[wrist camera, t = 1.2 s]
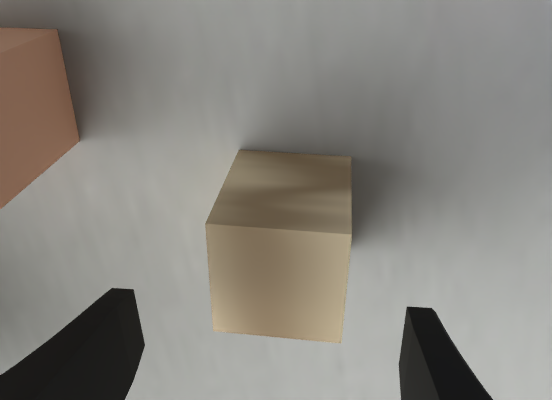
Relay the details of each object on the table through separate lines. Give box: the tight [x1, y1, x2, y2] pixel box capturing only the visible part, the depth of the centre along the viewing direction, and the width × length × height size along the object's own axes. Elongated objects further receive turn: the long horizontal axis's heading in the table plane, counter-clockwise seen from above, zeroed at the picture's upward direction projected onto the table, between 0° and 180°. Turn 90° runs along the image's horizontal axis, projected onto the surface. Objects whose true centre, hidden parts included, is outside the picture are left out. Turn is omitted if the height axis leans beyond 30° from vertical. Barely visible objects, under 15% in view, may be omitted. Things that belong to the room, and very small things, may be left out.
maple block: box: [205, 150, 352, 343], centre depth 17 cm, size 4×4×5 cm
